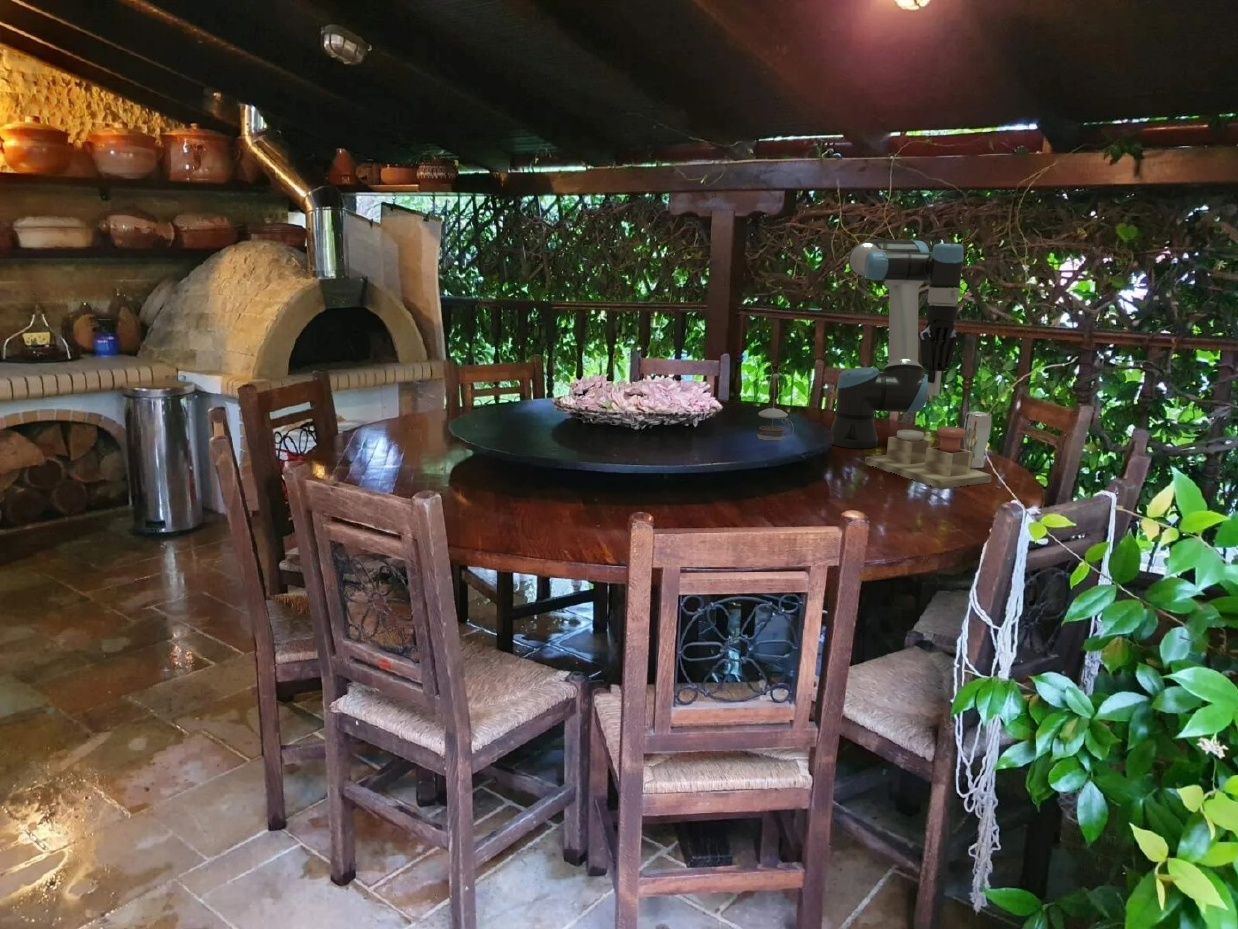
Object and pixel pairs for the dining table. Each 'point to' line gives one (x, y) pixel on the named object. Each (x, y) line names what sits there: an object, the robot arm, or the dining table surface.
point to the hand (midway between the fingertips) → (933, 395)
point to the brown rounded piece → (950, 438)
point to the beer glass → (977, 436)
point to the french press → (772, 414)
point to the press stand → (928, 464)
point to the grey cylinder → (910, 435)
